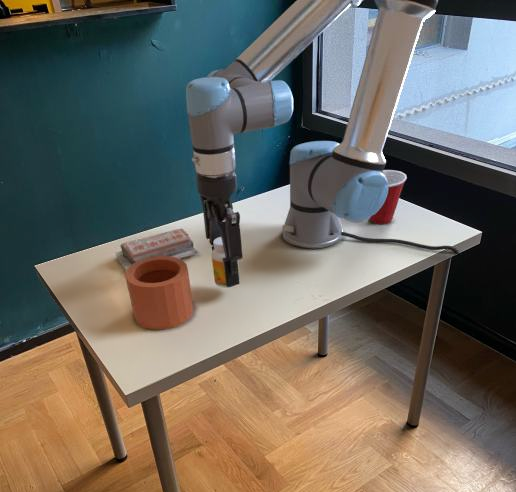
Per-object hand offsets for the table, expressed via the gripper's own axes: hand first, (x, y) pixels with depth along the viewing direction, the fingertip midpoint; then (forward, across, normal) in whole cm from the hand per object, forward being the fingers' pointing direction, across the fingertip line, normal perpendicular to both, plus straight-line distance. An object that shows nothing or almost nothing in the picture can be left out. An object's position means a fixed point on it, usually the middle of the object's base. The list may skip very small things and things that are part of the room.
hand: (226, 278), depth 110 cm
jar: (+4, 0, -15) cm, 15 cm away
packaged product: (+4, -24, -8) cm, 26 cm away
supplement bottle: (+1, 0, 0) cm, 1 cm away
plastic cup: (+5, -12, +51) cm, 53 cm away
